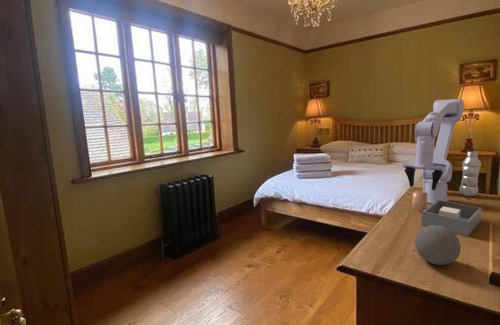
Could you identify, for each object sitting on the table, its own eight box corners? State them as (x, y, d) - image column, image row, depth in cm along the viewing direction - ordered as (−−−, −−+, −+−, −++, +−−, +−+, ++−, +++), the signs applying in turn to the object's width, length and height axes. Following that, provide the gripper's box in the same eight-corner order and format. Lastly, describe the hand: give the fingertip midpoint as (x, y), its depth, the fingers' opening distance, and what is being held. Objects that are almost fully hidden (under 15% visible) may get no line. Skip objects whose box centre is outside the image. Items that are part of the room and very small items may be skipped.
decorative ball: (468, 269, 72) (472, 231, 70) (435, 275, 70) (438, 237, 68) (435, 250, 81) (438, 217, 80) (405, 255, 79) (407, 221, 78)
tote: (437, 212, 110) (438, 199, 109) (480, 221, 100) (481, 207, 99) (421, 225, 99) (422, 211, 98) (467, 236, 89) (469, 221, 88)
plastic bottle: (460, 192, 133) (464, 150, 129) (478, 195, 128) (483, 151, 124) (457, 196, 128) (461, 152, 125) (476, 199, 123) (481, 153, 120)
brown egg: (414, 207, 117) (415, 190, 116) (428, 209, 113) (429, 192, 112) (409, 210, 114) (410, 193, 112) (423, 213, 110) (425, 195, 109)
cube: (442, 219, 101) (443, 206, 100) (459, 223, 98) (460, 209, 97) (437, 224, 98) (439, 210, 97) (455, 227, 94) (456, 213, 94)
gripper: (400, 153, 111) (398, 186, 114) (443, 156, 100) (440, 193, 103) (407, 150, 116) (405, 183, 118) (449, 153, 105) (446, 189, 107)
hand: (422, 187), depth 111 cm, fingers open, 7 cm apart
